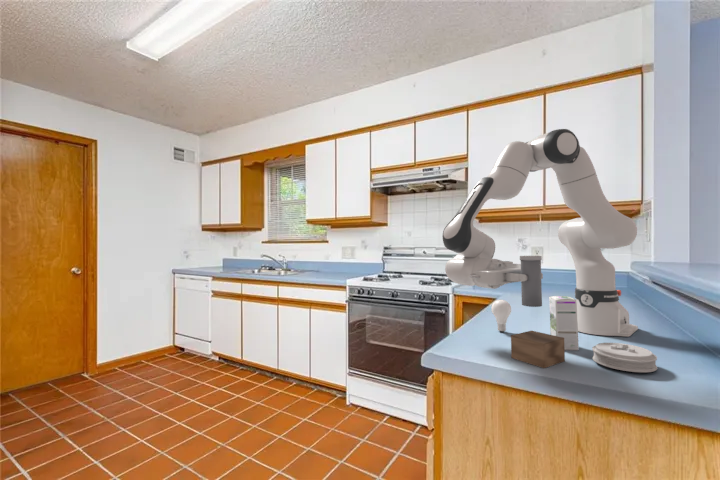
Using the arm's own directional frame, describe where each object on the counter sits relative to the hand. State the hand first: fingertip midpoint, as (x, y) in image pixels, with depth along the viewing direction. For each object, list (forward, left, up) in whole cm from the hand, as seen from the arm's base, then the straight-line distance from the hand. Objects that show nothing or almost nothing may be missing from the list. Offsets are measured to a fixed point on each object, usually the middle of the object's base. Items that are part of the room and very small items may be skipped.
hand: (534, 277), depth 90 cm
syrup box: (-16, -2, -22) cm, 27 cm away
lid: (-13, +14, -22) cm, 29 cm away
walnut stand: (0, 0, -22) cm, 22 cm away
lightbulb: (-16, -23, -22) cm, 35 cm away
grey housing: (0, -1, -8) cm, 8 cm away
